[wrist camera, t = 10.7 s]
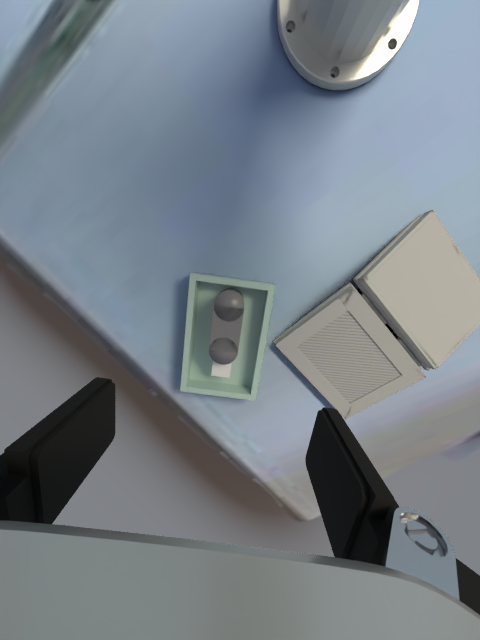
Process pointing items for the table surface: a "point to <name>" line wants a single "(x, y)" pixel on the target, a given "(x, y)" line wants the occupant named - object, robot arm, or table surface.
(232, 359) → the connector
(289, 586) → the robot arm
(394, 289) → the gadget
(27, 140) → the table surface
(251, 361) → the tray
